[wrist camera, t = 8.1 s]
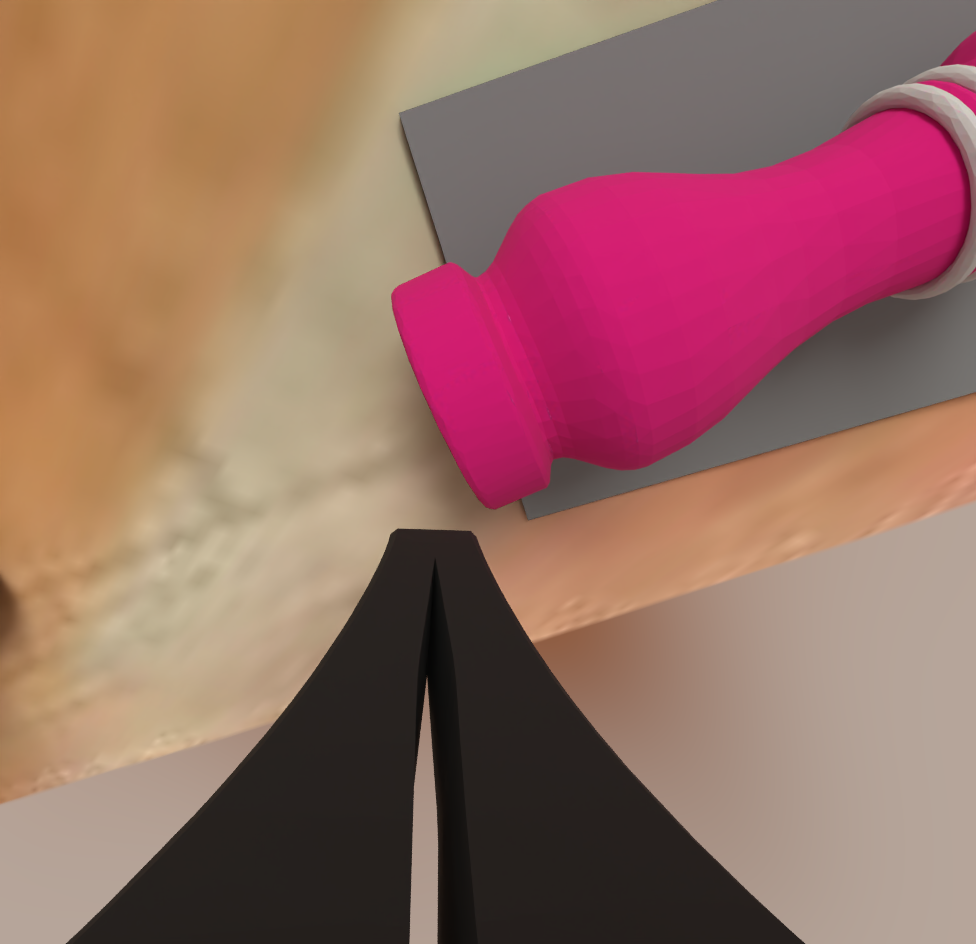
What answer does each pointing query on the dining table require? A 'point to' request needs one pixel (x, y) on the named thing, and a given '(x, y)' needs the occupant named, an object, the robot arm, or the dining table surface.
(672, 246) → the pepper mill
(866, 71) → the mat
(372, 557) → the dining table surface
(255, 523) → the dining table surface
